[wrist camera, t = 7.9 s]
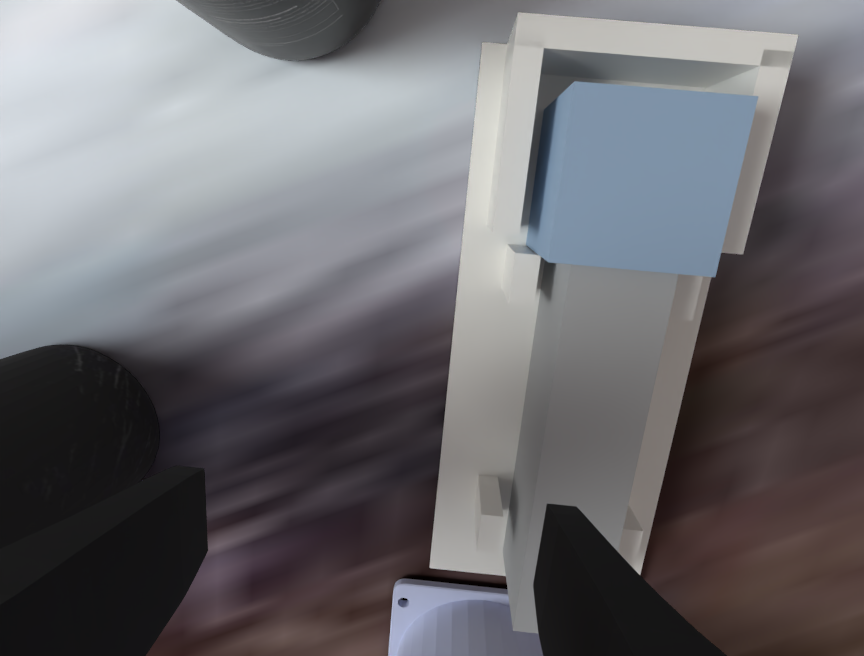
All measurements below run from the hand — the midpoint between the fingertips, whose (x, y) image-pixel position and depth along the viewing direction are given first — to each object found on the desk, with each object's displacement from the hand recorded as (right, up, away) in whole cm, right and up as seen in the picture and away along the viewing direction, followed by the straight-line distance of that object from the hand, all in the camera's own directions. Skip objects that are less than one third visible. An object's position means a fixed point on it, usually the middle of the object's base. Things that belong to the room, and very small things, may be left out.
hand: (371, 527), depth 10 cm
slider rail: (+7, +4, +9) cm, 12 cm away
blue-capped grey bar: (+7, +4, +8) cm, 11 cm away
